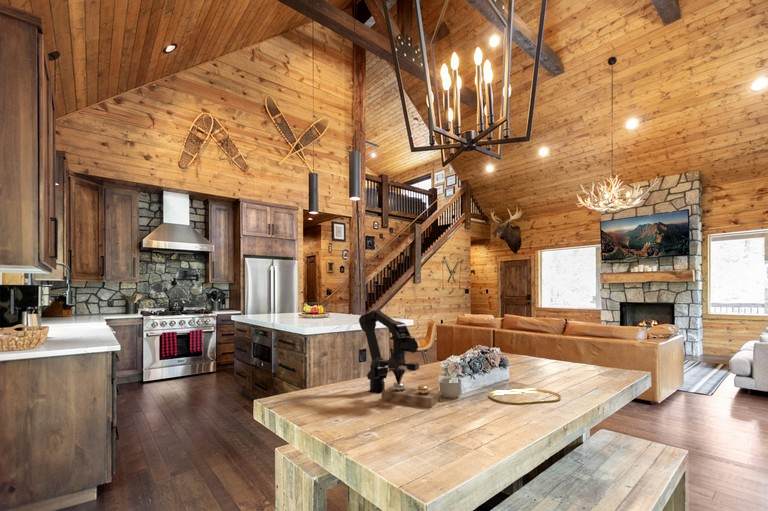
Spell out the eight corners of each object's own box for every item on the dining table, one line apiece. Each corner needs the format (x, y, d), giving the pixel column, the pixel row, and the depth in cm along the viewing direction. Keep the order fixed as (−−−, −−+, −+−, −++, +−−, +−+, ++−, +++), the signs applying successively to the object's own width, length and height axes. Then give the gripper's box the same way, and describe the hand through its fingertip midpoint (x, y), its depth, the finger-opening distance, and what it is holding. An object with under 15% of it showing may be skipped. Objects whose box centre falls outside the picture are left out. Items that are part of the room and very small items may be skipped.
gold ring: (481, 395, 189) (481, 391, 189) (544, 391, 196) (544, 388, 196) (501, 406, 170) (501, 403, 170) (570, 402, 178) (570, 398, 178)
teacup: (463, 400, 179) (463, 382, 179) (440, 399, 179) (440, 382, 180) (458, 391, 193) (458, 375, 193) (436, 391, 193) (436, 375, 194)
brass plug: (416, 394, 174) (416, 387, 174) (419, 392, 178) (419, 384, 179) (426, 396, 172) (426, 388, 172) (429, 393, 176) (429, 386, 177)
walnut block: (381, 400, 177) (381, 391, 178) (392, 394, 188) (392, 385, 188) (431, 407, 167) (431, 398, 167) (439, 400, 178) (439, 391, 178)
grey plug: (392, 391, 179) (392, 384, 180) (396, 389, 184) (396, 381, 184) (401, 392, 177) (401, 385, 177) (405, 390, 182) (405, 383, 182)
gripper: (373, 350, 179) (373, 385, 177) (410, 354, 171) (410, 390, 169) (383, 347, 189) (383, 379, 188) (419, 350, 181) (419, 384, 179)
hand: (398, 383), depth 181 cm, fingers closed
